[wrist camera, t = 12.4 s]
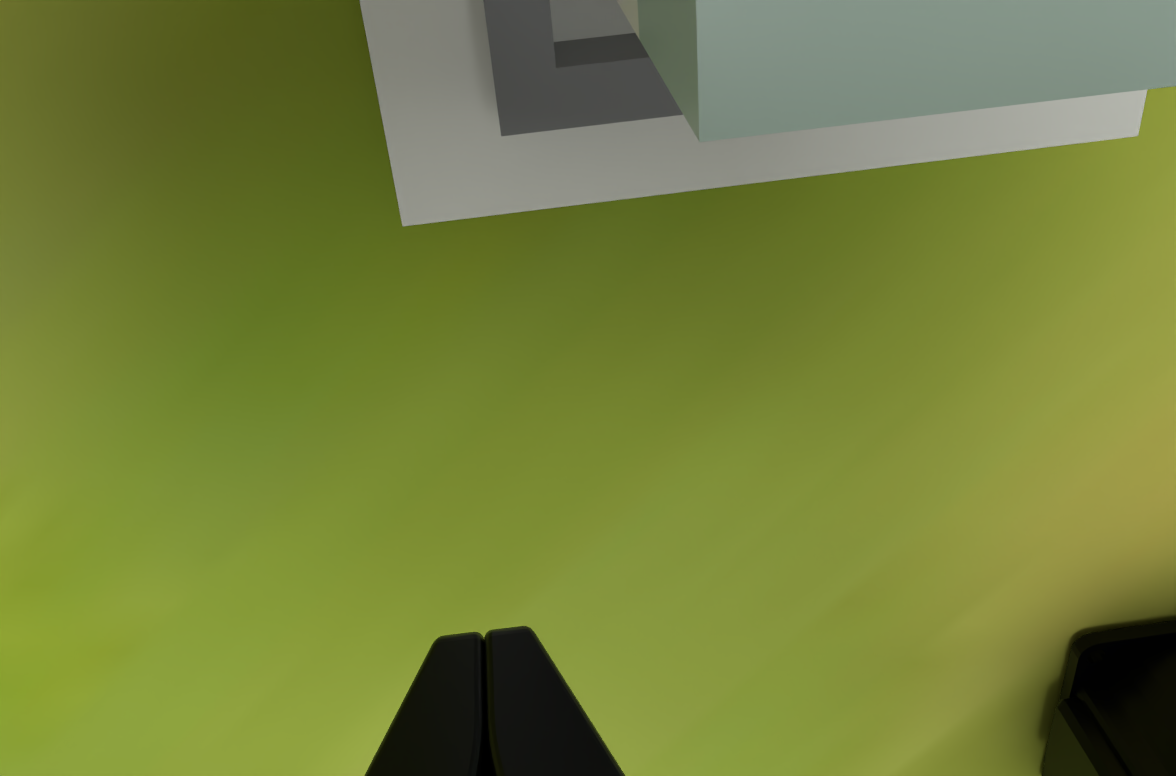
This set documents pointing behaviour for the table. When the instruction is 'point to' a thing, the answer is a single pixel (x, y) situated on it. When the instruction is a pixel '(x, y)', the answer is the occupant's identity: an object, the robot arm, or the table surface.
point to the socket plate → (622, 115)
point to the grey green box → (893, 57)
